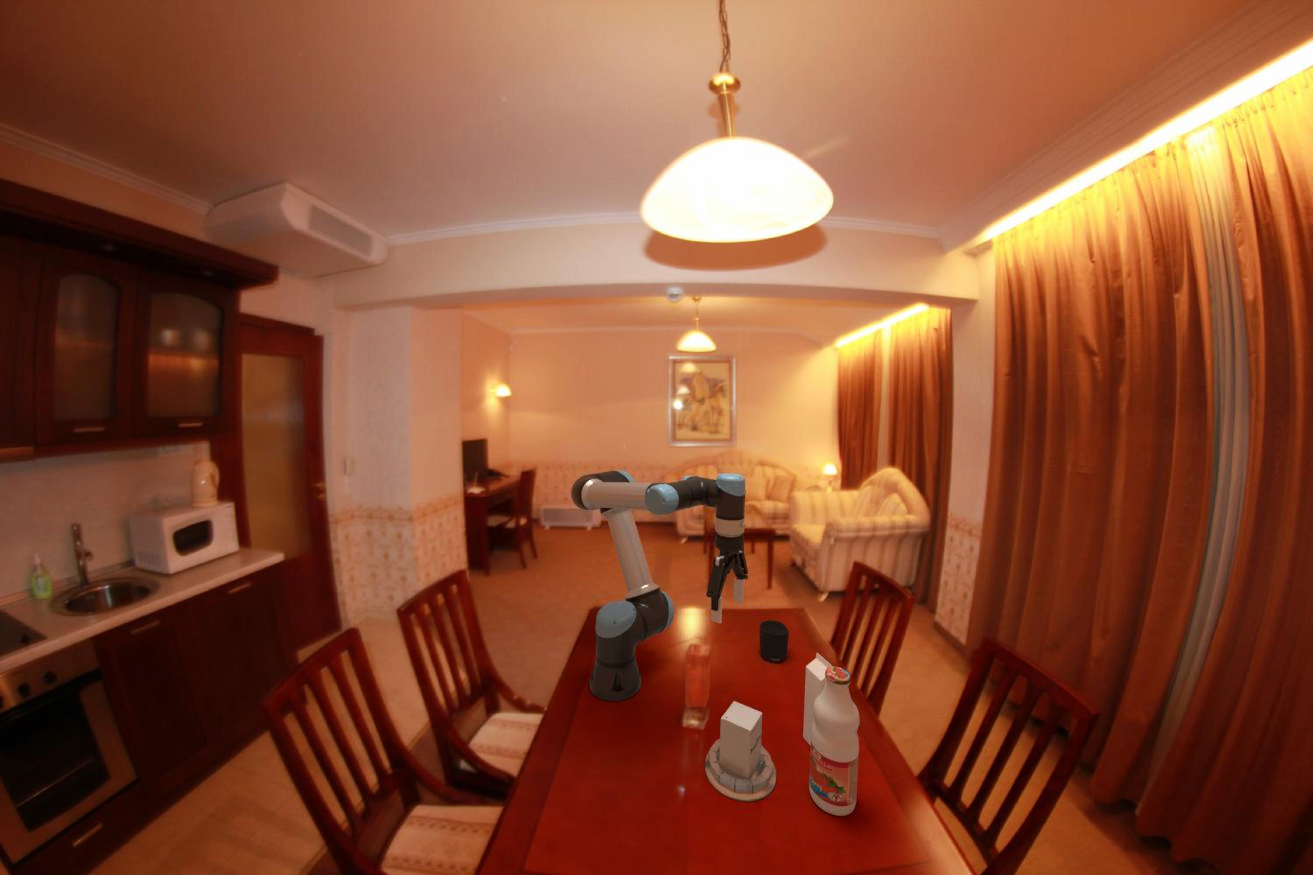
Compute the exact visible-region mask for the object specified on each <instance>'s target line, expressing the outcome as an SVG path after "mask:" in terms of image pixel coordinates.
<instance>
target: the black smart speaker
mask: <svg viewBox="0 0 1313 875" xmlns="http://www.w3.org/2000/svg"><path fill="white" fill-rule="evenodd" d="M789 634H790V630H789V629H788V628H787V626H786V625H785V623H783V622H781V621H778V620H773V619H771V620H770V619H769V620H764V621H763V620H762V622H760V624H759V654H760V657H761V658H762V659H763V660H764V661H767V662H769V663H771V664H781V663H783V662H785V661H786V660H787V657H788V650H789V649H788V648H789V636H790V635H789Z"/></svg>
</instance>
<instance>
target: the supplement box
mask: <svg viewBox="0 0 1313 875" xmlns="http://www.w3.org/2000/svg"><path fill="white" fill-rule="evenodd" d="M762 725H763V712H761V711H759V710H757V709H754V708H752V707H751V706H747V705H744V704H743V703H739V702H738V701H735V700H734V701H732V703H731V704H730V705H729V707H728V708H727V710H726V711H725V712H724V713H723V715H722V716H721V717H720V731H719V732H720V734H719V739H720V759H719V766H720V768H721V769H722V770H723V772H725V773H727V774H728V775H730V776H732V777H734V778H736V779H747V780H750V779H751V778H752V777H753V775H754V773H755V771H756V769H757V768H758V766H759V765H760V760H761V745H762V734H763V733H762V730H763V729H762V728H763V727H762Z"/></svg>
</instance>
